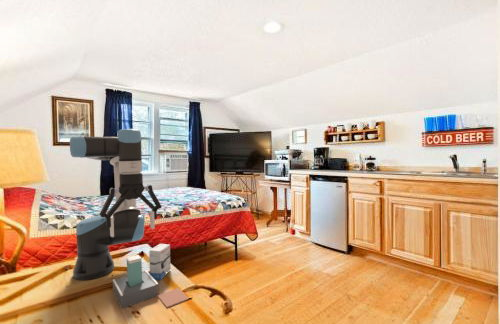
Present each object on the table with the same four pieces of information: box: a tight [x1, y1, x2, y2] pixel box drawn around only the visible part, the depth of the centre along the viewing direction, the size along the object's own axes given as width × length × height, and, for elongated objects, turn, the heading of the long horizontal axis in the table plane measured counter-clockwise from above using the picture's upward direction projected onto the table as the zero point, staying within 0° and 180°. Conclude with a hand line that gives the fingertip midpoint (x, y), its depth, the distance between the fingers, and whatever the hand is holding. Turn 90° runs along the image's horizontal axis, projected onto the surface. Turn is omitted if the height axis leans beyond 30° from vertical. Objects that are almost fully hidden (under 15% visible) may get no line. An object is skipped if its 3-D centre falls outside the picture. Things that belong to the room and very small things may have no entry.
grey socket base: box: [112, 269, 159, 309], centre depth 94 cm, size 14×12×4 cm
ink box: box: [148, 243, 172, 281], centre depth 107 cm, size 8×5×12 cm, turn 168°
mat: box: [157, 287, 190, 309], centre depth 91 cm, size 9×9×1 cm
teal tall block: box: [126, 254, 143, 287], centre depth 94 cm, size 4×4×13 cm
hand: (133, 232), depth 93 cm, fingers open, 13 cm apart
